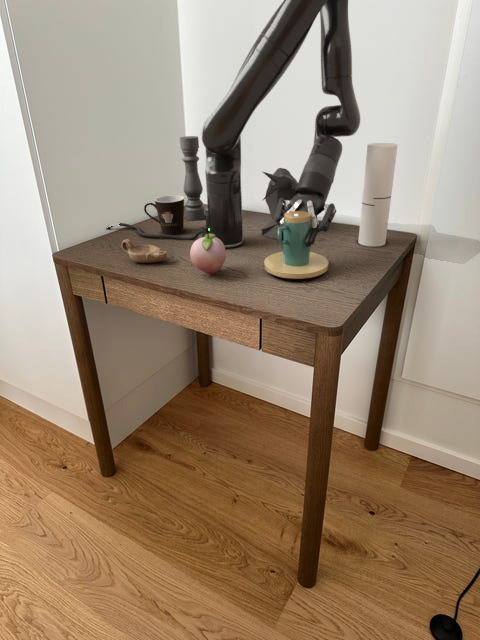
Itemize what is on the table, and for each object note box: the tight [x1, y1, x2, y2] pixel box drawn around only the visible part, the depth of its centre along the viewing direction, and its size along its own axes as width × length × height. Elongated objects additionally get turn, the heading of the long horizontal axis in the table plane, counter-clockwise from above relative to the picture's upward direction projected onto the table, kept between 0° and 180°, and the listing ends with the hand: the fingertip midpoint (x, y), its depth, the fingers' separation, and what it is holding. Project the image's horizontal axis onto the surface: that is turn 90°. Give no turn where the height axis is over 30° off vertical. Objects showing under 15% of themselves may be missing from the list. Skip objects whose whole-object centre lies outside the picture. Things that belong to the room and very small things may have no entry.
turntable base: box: [273, 275, 320, 282], centre depth 108 cm, size 12×12×1 cm
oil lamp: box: [120, 238, 168, 264], centre depth 117 cm, size 13×8×5 cm, turn 61°
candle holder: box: [179, 135, 206, 222], centre depth 146 cm, size 6×6×25 cm
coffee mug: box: [143, 194, 185, 236], centre depth 137 cm, size 12×9×10 cm
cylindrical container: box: [357, 142, 399, 248], centre depth 119 cm, size 7×7×25 cm
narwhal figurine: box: [261, 167, 299, 240], centre depth 133 cm, size 14×15×18 cm
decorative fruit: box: [189, 233, 227, 275], centre depth 106 cm, size 9×8×10 cm
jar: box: [263, 211, 329, 279], centre depth 105 cm, size 15×15×12 cm
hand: (293, 242), depth 104 cm, fingers closed on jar, 6 cm apart
